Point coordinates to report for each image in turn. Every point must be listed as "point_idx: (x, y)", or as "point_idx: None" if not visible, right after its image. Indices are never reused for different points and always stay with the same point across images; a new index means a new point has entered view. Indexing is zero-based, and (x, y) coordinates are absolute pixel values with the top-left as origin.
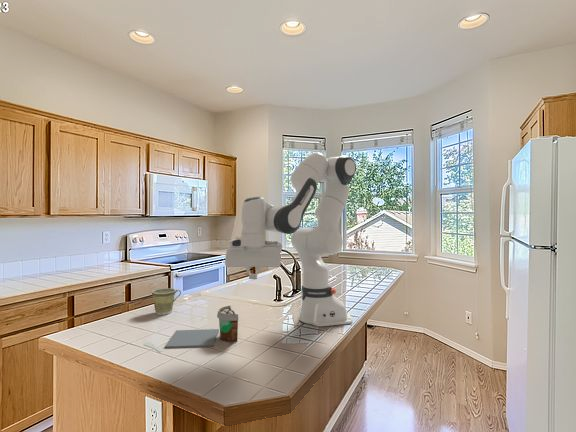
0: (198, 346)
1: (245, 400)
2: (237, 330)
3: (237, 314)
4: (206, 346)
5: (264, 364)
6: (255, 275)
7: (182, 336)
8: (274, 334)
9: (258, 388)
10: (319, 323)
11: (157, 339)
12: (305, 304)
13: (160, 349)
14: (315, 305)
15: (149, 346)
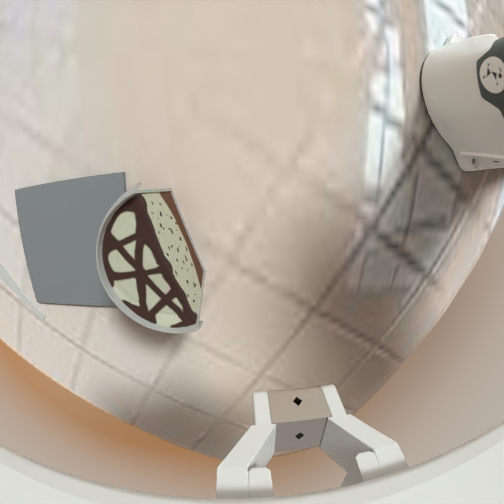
0: (104, 304)
1: None
2: (202, 291)
3: (195, 329)
4: None
5: None
6: (319, 439)
7: (42, 239)
8: (332, 217)
9: None
10: (470, 166)
11: (4, 244)
12: (477, 111)
13: (36, 307)
14: (502, 155)
15: (11, 288)
